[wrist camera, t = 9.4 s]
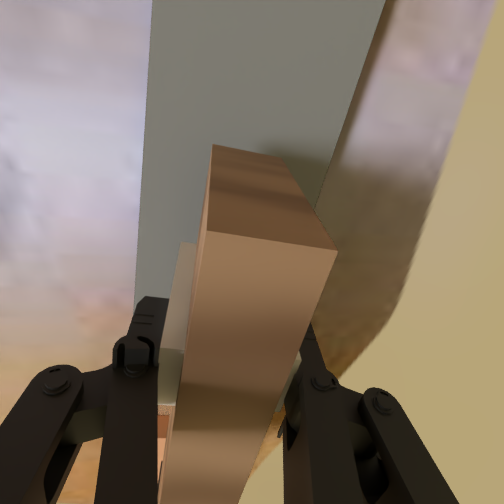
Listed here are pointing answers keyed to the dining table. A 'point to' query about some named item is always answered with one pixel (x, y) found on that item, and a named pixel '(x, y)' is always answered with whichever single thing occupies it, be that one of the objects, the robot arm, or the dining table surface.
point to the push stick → (241, 323)
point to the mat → (240, 104)
